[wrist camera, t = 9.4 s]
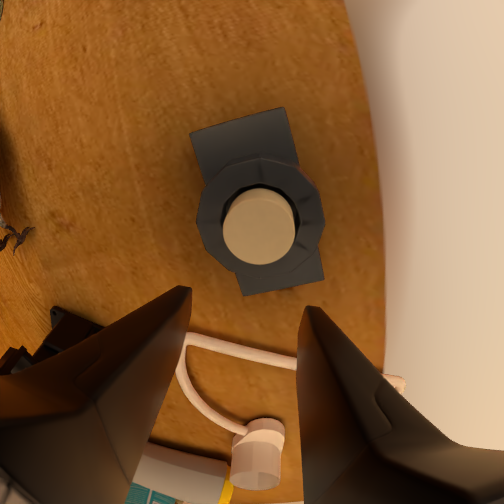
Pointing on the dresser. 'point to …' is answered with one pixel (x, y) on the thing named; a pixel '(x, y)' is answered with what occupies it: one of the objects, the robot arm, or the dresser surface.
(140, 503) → the pill bottle
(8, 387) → the robot arm
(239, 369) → the dresser surface
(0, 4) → the turntable base
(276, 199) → the button
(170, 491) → the soap bottle
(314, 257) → the button block
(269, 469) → the toilet paper hanger
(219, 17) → the dresser surface
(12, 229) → the decorative bird
